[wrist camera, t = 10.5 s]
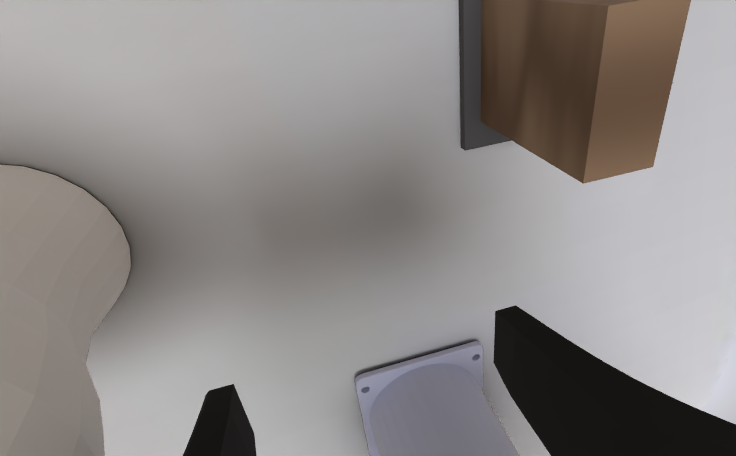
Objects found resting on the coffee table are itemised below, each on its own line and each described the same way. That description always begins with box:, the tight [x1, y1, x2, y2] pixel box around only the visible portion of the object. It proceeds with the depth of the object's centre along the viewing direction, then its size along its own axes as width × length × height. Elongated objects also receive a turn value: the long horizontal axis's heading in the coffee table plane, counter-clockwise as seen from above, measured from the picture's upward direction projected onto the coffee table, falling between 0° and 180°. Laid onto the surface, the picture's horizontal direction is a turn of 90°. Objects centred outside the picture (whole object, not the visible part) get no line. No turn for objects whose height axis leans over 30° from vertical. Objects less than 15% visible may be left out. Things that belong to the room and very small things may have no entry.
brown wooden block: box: [481, 0, 691, 183], centre depth 16 cm, size 5×2×7 cm, turn 8°
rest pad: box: [459, 0, 511, 150], centre depth 19 cm, size 7×4×1 cm, turn 8°
